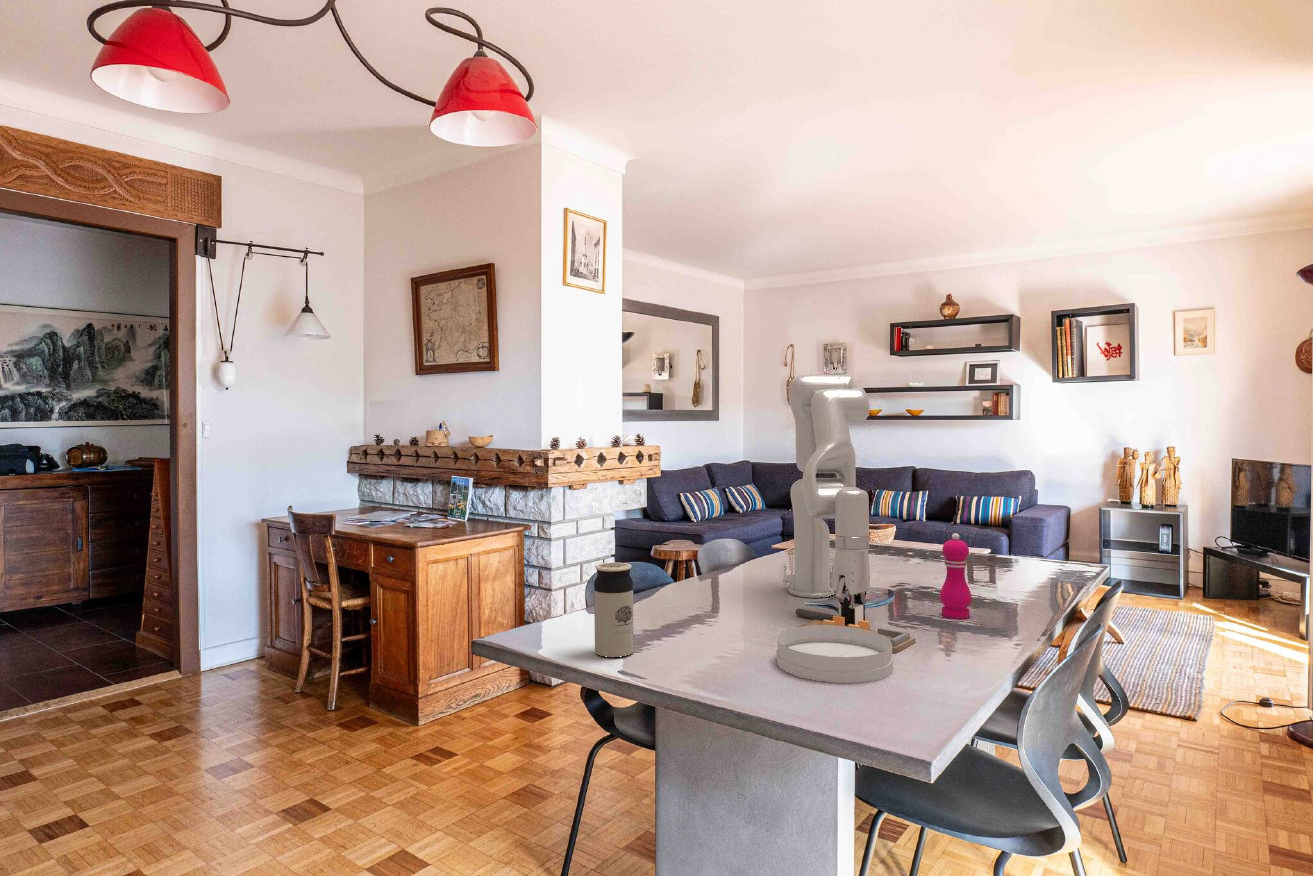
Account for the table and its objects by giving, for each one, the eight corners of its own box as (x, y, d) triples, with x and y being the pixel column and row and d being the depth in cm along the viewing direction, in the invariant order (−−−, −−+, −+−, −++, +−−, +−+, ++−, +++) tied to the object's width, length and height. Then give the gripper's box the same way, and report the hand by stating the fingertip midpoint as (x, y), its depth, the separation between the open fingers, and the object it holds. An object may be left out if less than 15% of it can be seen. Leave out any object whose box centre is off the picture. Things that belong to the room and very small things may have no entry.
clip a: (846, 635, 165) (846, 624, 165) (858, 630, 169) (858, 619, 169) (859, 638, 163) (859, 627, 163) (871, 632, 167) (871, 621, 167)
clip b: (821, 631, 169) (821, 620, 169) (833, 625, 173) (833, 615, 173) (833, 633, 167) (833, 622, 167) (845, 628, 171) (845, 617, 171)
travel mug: (589, 650, 159) (588, 563, 159) (625, 645, 162) (624, 560, 162) (602, 661, 152) (601, 570, 152) (639, 655, 155) (638, 567, 155)
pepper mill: (966, 612, 188) (966, 531, 188) (975, 619, 181) (975, 535, 181) (936, 611, 189) (936, 531, 189) (944, 619, 182) (944, 535, 181)
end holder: (864, 640, 161) (864, 634, 161) (879, 633, 167) (879, 627, 167) (895, 646, 157) (895, 640, 157) (909, 638, 162) (909, 632, 162)
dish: (817, 642, 165) (817, 619, 165) (914, 665, 149) (914, 639, 149) (753, 666, 149) (753, 640, 149) (853, 694, 133) (853, 665, 133)
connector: (791, 616, 185) (791, 596, 185) (800, 614, 188) (800, 593, 188) (854, 629, 173) (854, 607, 173) (863, 626, 176) (863, 605, 176)
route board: (792, 633, 171) (792, 628, 171) (814, 623, 179) (814, 619, 179) (895, 653, 155) (895, 648, 155) (915, 642, 163) (915, 637, 163)
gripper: (854, 538, 185) (855, 614, 184) (819, 545, 172) (820, 627, 172) (883, 540, 180) (884, 619, 179) (850, 548, 167) (851, 632, 167)
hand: (853, 622), depth 176 cm, fingers closed on connector, 4 cm apart
